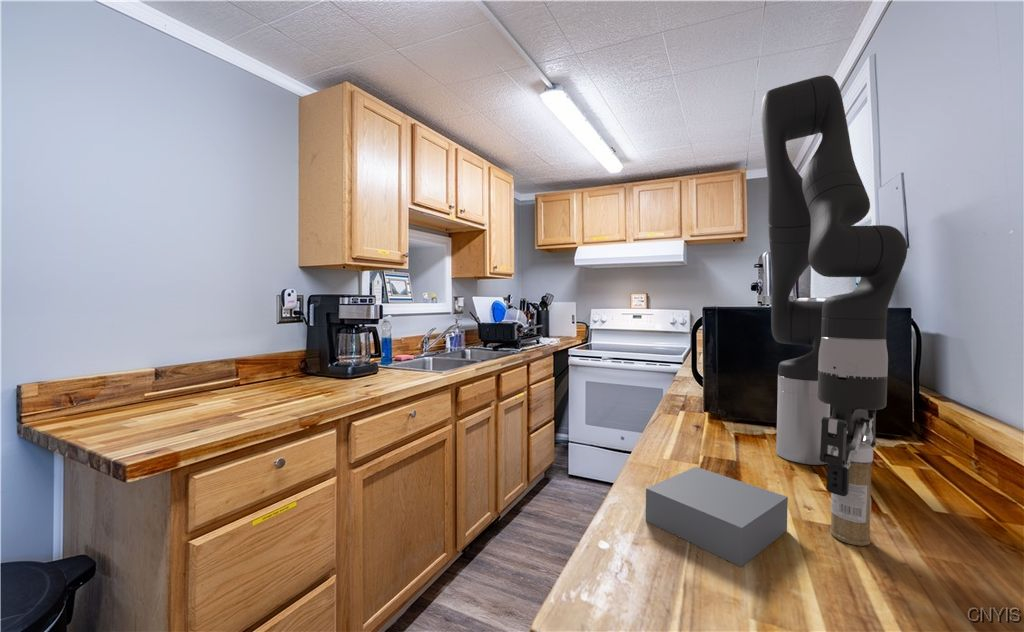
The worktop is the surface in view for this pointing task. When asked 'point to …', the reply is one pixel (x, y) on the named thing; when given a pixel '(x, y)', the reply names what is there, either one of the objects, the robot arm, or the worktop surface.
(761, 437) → the worktop surface
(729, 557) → the grey block
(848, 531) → the spice jar
